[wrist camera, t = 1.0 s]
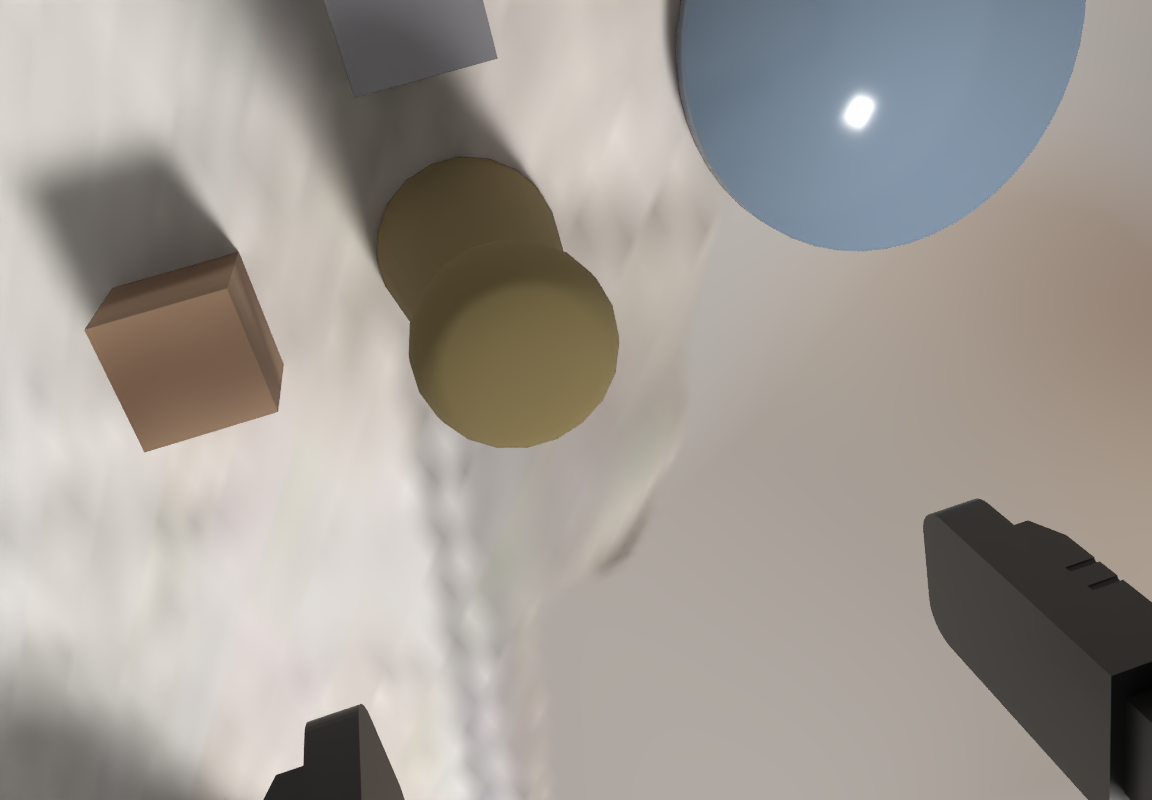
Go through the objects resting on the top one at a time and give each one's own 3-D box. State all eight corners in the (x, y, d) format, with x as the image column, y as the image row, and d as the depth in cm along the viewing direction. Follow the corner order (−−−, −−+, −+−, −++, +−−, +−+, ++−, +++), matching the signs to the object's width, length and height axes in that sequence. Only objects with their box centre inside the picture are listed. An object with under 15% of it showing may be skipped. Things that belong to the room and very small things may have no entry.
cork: (584, 291, 35) (683, 422, 25) (424, 363, 34) (460, 524, 24) (517, 126, 32) (600, 199, 22) (343, 203, 32) (347, 311, 22)
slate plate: (637, -145, 29) (646, -148, 29) (1064, -254, 31) (1085, -260, 30) (715, 291, 36) (725, 299, 35) (1068, 183, 37) (1086, 188, 36)
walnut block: (112, 287, 31) (84, 329, 28) (238, 251, 32) (226, 288, 28) (165, 399, 33) (144, 452, 29) (283, 363, 33) (278, 411, 30)
